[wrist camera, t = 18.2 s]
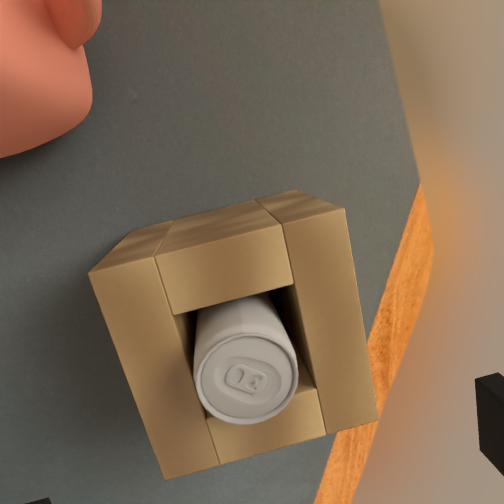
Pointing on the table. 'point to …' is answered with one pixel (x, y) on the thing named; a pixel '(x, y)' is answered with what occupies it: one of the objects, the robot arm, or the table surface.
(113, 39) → the table surface
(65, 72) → the teapot
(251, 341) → the beverage can
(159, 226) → the wooden box
